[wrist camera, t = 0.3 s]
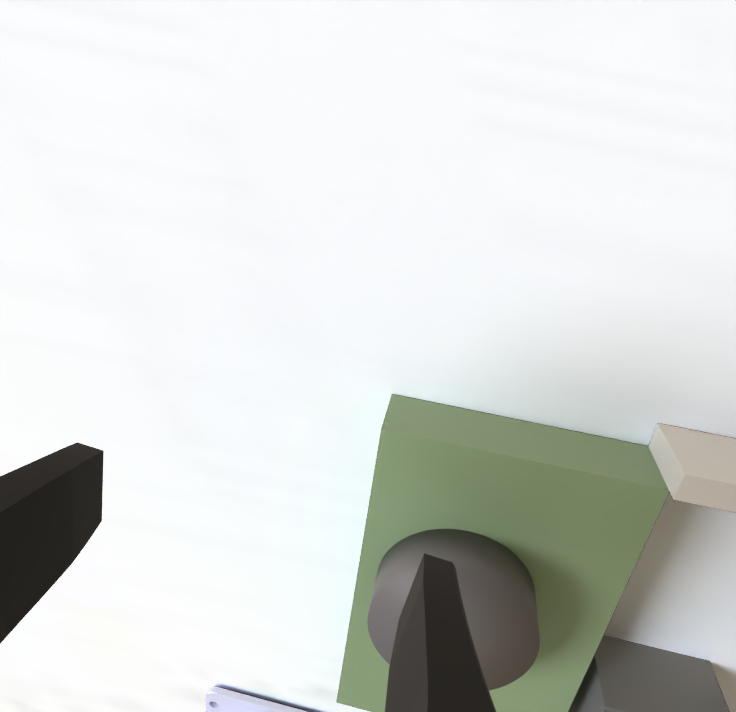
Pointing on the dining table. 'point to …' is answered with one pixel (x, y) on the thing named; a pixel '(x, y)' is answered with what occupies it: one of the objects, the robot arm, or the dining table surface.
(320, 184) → the dining table surface
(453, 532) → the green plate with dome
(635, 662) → the grey stepped block
